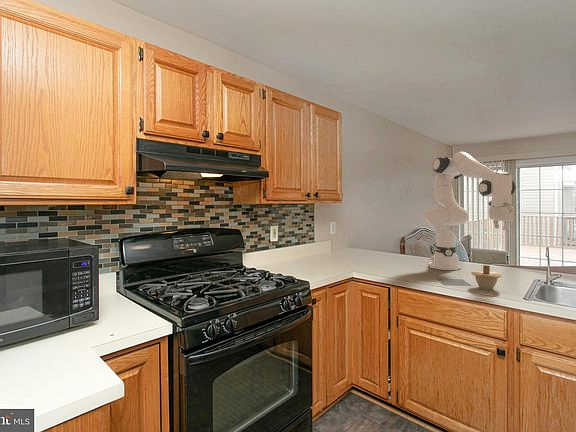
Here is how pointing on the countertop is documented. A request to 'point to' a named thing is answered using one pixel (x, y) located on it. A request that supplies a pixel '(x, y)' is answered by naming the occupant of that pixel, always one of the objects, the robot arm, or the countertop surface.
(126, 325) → the countertop surface
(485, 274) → the lid
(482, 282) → the olive bowl
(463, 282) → the mat
